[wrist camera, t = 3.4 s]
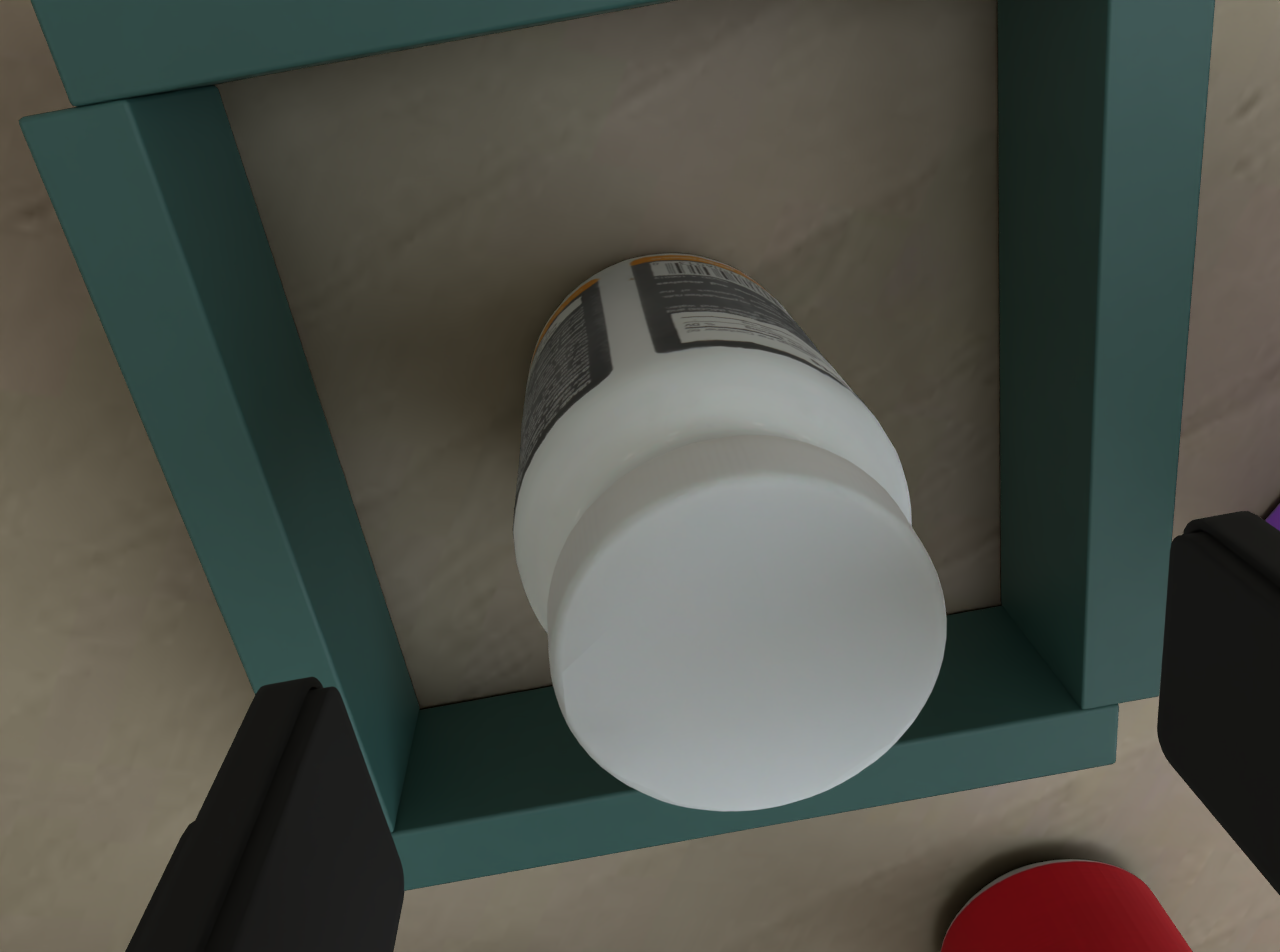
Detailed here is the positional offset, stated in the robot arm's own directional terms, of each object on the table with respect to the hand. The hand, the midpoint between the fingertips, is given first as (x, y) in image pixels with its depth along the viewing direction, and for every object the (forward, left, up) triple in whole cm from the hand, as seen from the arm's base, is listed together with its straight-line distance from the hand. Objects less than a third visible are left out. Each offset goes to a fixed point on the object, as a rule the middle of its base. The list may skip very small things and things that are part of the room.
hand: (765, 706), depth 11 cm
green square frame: (0, 0, -10) cm, 10 cm away
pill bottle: (0, 0, -11) cm, 11 cm away
